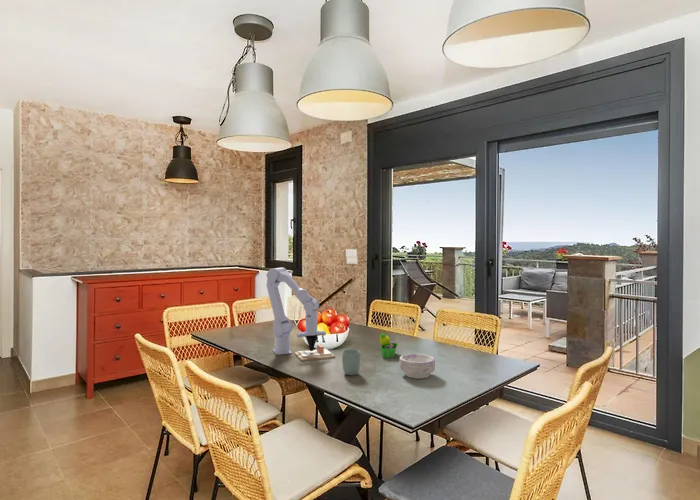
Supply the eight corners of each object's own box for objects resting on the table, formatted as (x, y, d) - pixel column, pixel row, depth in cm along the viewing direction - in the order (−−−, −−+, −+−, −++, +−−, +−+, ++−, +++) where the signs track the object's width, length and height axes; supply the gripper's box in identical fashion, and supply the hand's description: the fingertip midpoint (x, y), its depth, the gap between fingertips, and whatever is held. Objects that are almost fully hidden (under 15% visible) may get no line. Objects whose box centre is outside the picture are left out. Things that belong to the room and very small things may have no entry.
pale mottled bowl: (410, 368, 193) (411, 351, 193) (440, 375, 183) (441, 357, 183) (392, 376, 181) (392, 358, 181) (423, 384, 171) (423, 364, 171)
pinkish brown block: (315, 350, 217) (315, 343, 217) (325, 349, 219) (325, 342, 219) (321, 355, 207) (321, 348, 207) (331, 354, 210) (331, 347, 210)
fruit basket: (395, 359, 207) (395, 336, 207) (377, 357, 209) (378, 335, 209) (397, 353, 218) (397, 331, 218) (380, 351, 220) (380, 330, 220)
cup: (344, 377, 179) (345, 354, 178) (340, 372, 186) (340, 349, 186) (362, 376, 181) (362, 353, 180) (357, 370, 188) (357, 348, 188)
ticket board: (294, 354, 215) (294, 350, 215) (325, 350, 221) (325, 347, 221) (301, 361, 202) (301, 357, 202) (334, 357, 208) (334, 354, 208)
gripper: (299, 326, 204) (299, 353, 204) (327, 324, 209) (327, 351, 210) (295, 323, 210) (295, 350, 211) (323, 321, 216) (323, 347, 216)
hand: (311, 350), depth 211 cm, fingers closed
